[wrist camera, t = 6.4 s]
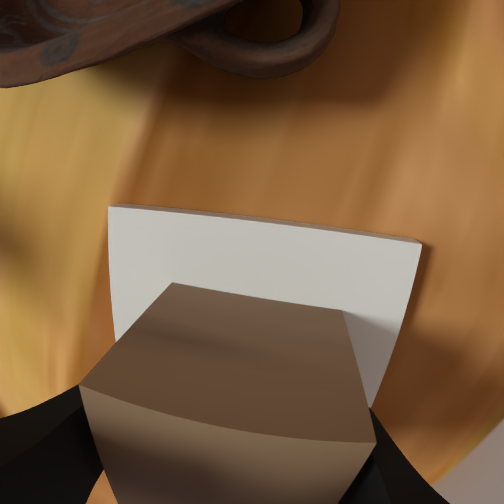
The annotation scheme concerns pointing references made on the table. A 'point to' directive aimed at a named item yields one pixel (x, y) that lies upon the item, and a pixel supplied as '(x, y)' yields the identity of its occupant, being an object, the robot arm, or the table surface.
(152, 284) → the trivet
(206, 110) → the table surface
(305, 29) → the dish
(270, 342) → the walnut cube
